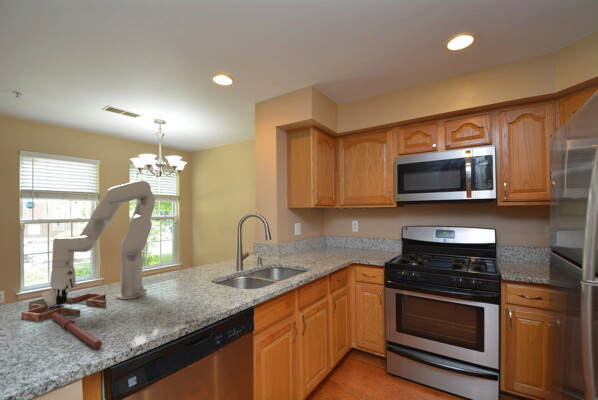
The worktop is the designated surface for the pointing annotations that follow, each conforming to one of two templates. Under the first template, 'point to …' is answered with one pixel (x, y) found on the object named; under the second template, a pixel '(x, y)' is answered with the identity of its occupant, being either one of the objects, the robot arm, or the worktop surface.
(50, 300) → the white cylinder
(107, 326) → the worktop surface
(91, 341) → the red collared rod
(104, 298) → the box
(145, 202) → the robot arm
